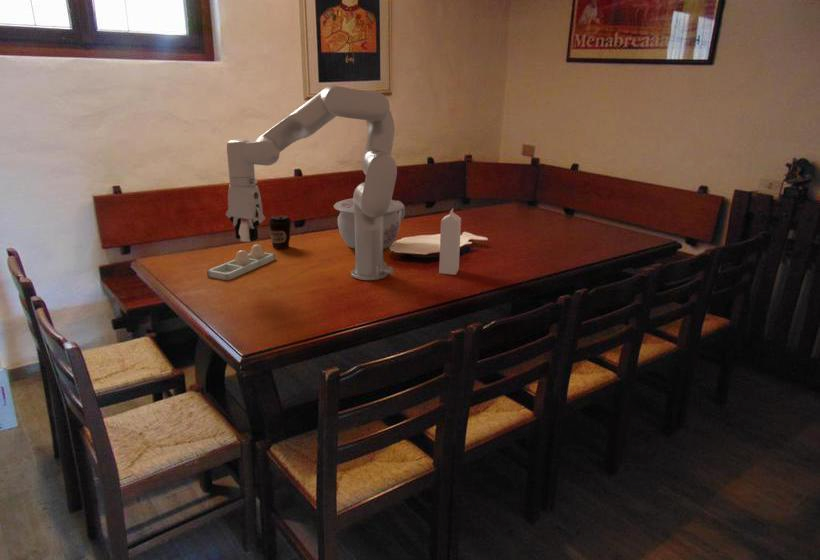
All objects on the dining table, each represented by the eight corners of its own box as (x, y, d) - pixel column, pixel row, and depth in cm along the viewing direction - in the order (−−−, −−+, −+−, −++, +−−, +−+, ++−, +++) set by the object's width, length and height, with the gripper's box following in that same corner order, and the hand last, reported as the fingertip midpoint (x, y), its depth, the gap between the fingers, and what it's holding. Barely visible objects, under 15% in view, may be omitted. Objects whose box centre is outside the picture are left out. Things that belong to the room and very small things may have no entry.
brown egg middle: (252, 266, 204) (251, 249, 202) (243, 270, 200) (242, 253, 198) (242, 264, 206) (240, 247, 204) (232, 268, 202) (231, 251, 200)
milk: (438, 273, 204) (440, 211, 196) (442, 268, 209) (444, 207, 202) (456, 275, 203) (458, 212, 195) (459, 269, 208) (461, 208, 201)
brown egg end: (267, 260, 211) (266, 243, 209) (258, 264, 207) (257, 247, 205) (256, 258, 213) (255, 241, 211) (247, 262, 209) (246, 245, 207)
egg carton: (237, 255, 219) (237, 247, 218) (275, 262, 212) (274, 254, 211) (188, 275, 198) (187, 266, 197) (228, 283, 191) (227, 274, 190)
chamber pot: (331, 256, 220) (329, 202, 213) (337, 236, 246) (336, 187, 238) (406, 257, 221) (407, 203, 214) (404, 237, 247) (405, 188, 240)
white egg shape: (258, 239, 187) (256, 220, 185) (248, 242, 182) (246, 223, 180) (245, 237, 188) (244, 218, 186) (235, 240, 184) (234, 221, 182)
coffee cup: (287, 253, 222) (285, 220, 218) (266, 252, 224) (264, 218, 219) (295, 247, 230) (294, 215, 226) (276, 245, 232) (274, 213, 227)
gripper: (272, 182, 179) (276, 239, 185) (228, 177, 186) (233, 232, 192) (257, 186, 173) (261, 245, 179) (212, 180, 179) (217, 238, 185)
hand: (247, 238), depth 185 cm, fingers closed on white egg shape, 4 cm apart
